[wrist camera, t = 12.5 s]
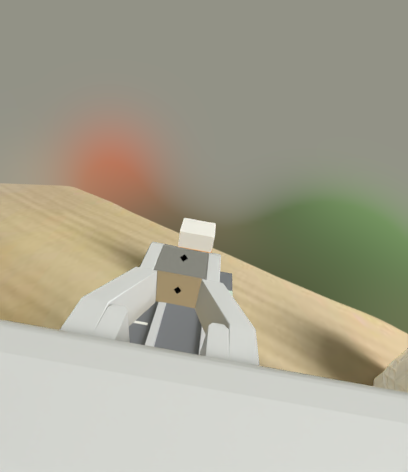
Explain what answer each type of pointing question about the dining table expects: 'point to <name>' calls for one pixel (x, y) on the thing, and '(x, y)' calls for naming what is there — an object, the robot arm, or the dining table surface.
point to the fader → (197, 235)
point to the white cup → (395, 374)
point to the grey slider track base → (172, 325)
